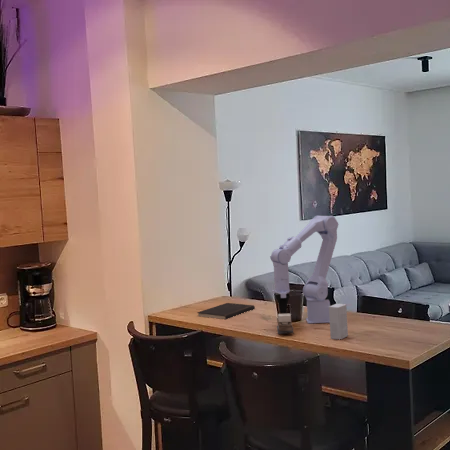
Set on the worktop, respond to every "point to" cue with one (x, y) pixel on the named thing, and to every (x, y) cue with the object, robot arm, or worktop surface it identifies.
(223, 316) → the hardcover book
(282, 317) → the rider
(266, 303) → the worktop surface
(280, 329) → the beam
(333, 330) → the skincare box
